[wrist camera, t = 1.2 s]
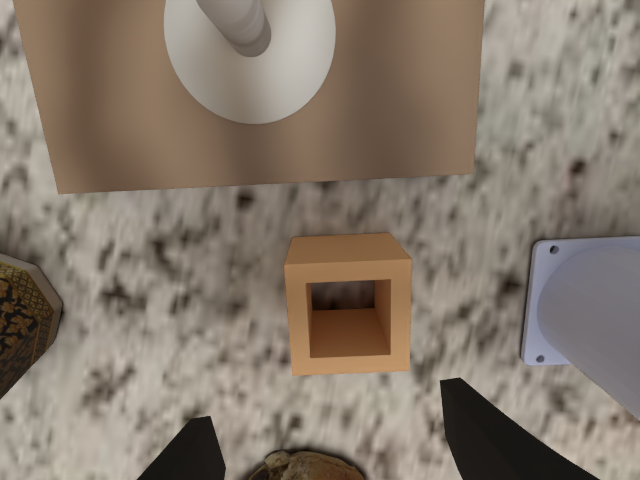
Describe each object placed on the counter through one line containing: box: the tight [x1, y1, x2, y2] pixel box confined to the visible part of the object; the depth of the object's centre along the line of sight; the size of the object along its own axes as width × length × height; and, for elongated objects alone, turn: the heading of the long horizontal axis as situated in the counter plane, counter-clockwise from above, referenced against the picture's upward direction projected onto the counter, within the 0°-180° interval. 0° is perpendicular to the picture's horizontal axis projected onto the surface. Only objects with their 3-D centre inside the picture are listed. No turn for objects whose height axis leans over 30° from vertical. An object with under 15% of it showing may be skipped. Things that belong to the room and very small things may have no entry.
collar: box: [284, 233, 412, 376], centre depth 18 cm, size 6×6×5 cm
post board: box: [13, 0, 485, 194], centre depth 15 cm, size 22×14×6 cm, turn 93°
